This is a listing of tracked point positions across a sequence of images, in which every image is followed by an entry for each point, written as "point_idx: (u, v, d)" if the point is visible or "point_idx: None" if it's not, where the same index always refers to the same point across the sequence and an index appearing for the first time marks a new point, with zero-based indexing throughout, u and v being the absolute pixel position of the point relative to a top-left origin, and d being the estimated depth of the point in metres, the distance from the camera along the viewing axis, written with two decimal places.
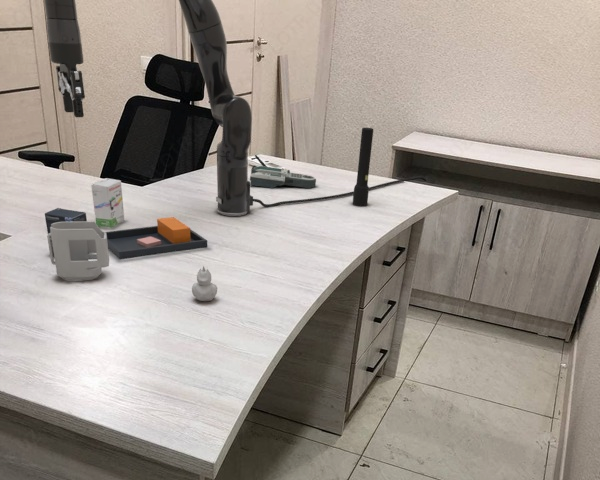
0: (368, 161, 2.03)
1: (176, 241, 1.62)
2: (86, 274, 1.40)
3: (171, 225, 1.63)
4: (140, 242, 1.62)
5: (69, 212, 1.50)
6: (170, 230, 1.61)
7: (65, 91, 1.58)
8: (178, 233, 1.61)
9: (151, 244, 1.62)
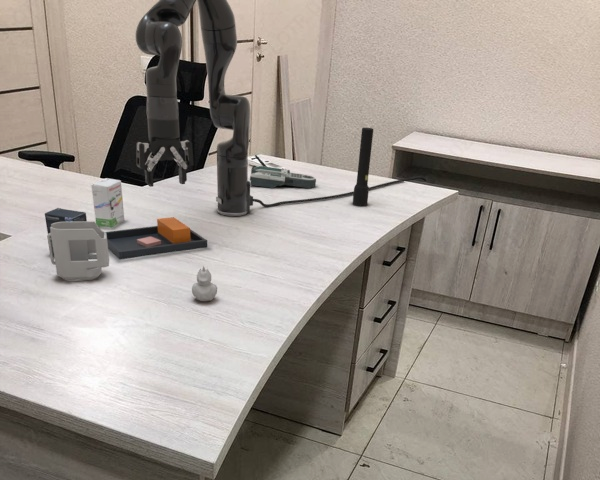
0: (368, 161, 2.03)
1: (176, 241, 1.62)
2: (86, 274, 1.40)
3: (171, 225, 1.63)
4: (140, 242, 1.62)
5: (69, 212, 1.50)
6: (170, 230, 1.61)
7: None
8: (178, 233, 1.61)
9: (151, 244, 1.62)
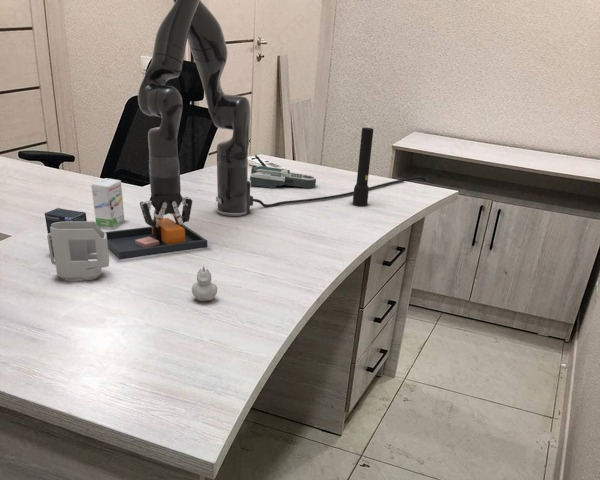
0: (368, 161, 2.03)
1: (171, 242, 1.61)
2: (86, 274, 1.40)
3: (166, 226, 1.62)
4: (138, 242, 1.62)
5: (69, 212, 1.50)
6: (165, 231, 1.60)
7: (177, 219, 1.65)
8: (173, 234, 1.60)
9: (149, 244, 1.61)
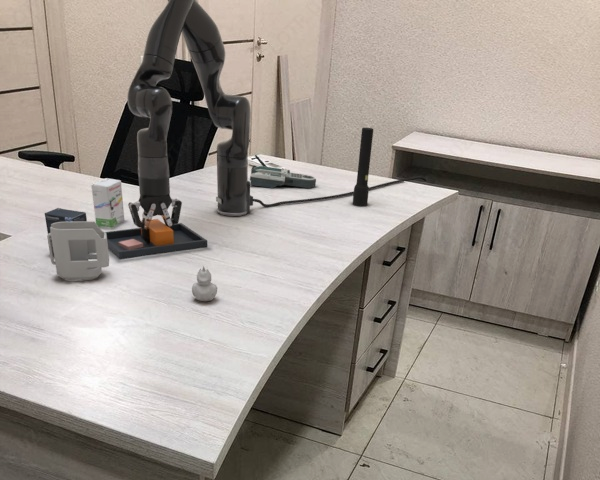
0: (368, 161, 2.03)
1: (159, 243, 1.59)
2: (86, 274, 1.40)
3: (154, 227, 1.61)
4: (121, 245, 1.60)
5: (69, 212, 1.50)
6: (153, 232, 1.59)
7: (166, 221, 1.64)
8: (161, 235, 1.59)
9: (132, 247, 1.59)
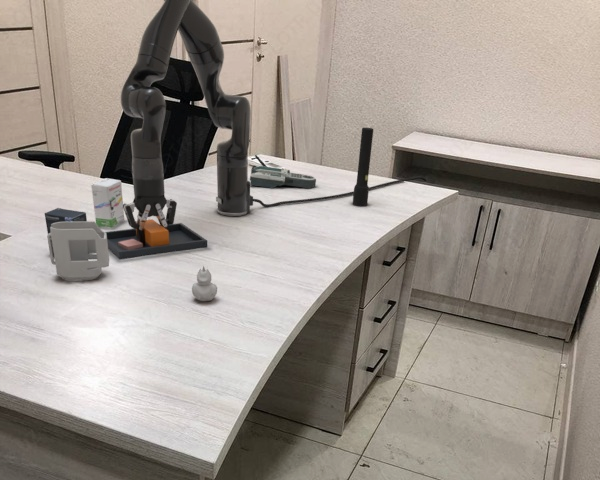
0: (368, 161, 2.03)
1: (154, 244, 1.59)
2: (86, 274, 1.40)
3: (149, 227, 1.60)
4: (121, 245, 1.60)
5: (69, 212, 1.50)
6: (148, 233, 1.58)
7: (161, 222, 1.63)
8: (156, 236, 1.58)
9: (132, 247, 1.59)
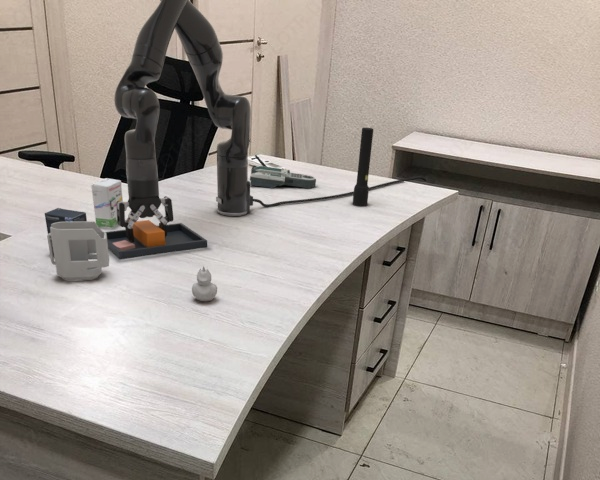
0: (368, 161, 2.03)
1: (150, 245, 1.58)
2: (86, 274, 1.40)
3: (145, 228, 1.60)
4: None
5: (69, 212, 1.50)
6: (144, 233, 1.58)
7: None
8: (152, 236, 1.58)
9: (124, 248, 1.58)
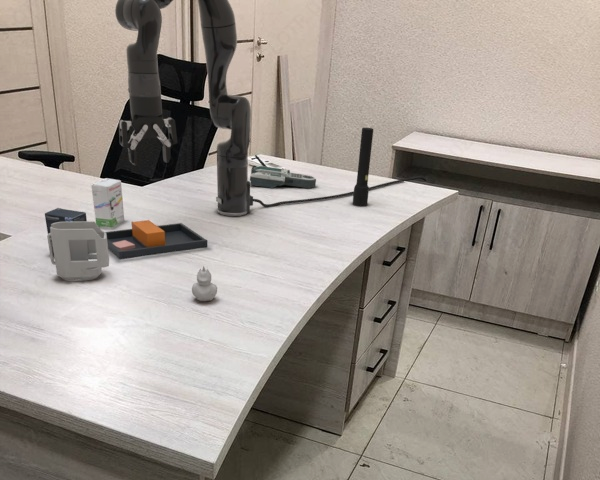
0: (368, 161, 2.03)
1: (150, 245, 1.58)
2: (86, 274, 1.40)
3: (145, 228, 1.60)
4: None
5: (69, 212, 1.50)
6: (144, 233, 1.58)
7: None
8: (152, 236, 1.58)
9: (124, 248, 1.58)
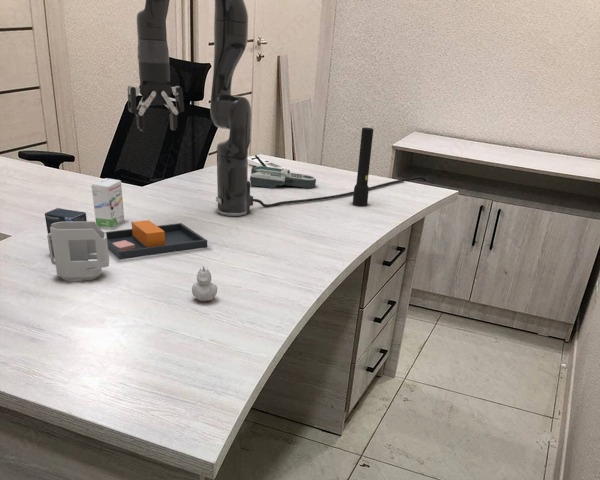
0: (368, 161, 2.03)
1: (150, 245, 1.58)
2: (86, 274, 1.40)
3: (145, 228, 1.60)
4: None
5: (69, 212, 1.50)
6: (144, 233, 1.58)
7: None
8: (152, 236, 1.58)
9: (124, 248, 1.58)
